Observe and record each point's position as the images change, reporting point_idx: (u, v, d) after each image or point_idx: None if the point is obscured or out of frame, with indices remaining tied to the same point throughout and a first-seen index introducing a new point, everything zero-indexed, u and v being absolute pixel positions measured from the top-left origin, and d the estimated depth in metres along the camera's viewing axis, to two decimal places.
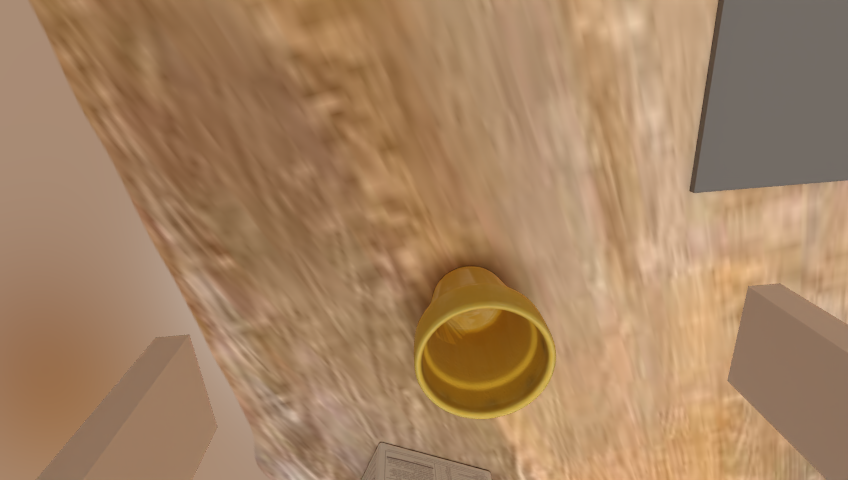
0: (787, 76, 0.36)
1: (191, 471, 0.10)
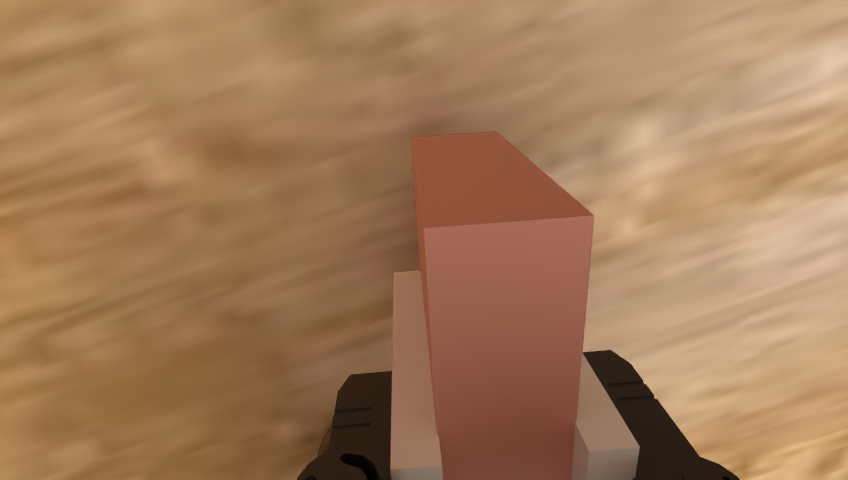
0: None
1: None
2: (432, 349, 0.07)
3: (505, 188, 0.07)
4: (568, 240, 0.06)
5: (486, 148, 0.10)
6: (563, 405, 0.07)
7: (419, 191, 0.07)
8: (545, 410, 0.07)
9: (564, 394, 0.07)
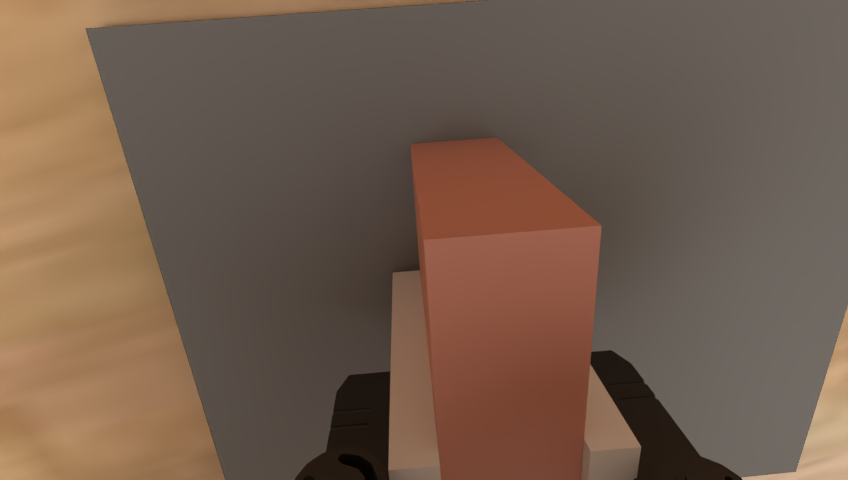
0: None
1: None
2: (433, 365, 0.06)
3: (508, 196, 0.07)
4: (574, 251, 0.06)
5: (487, 155, 0.10)
6: (570, 423, 0.07)
7: (419, 200, 0.07)
8: (551, 427, 0.07)
9: (571, 411, 0.07)
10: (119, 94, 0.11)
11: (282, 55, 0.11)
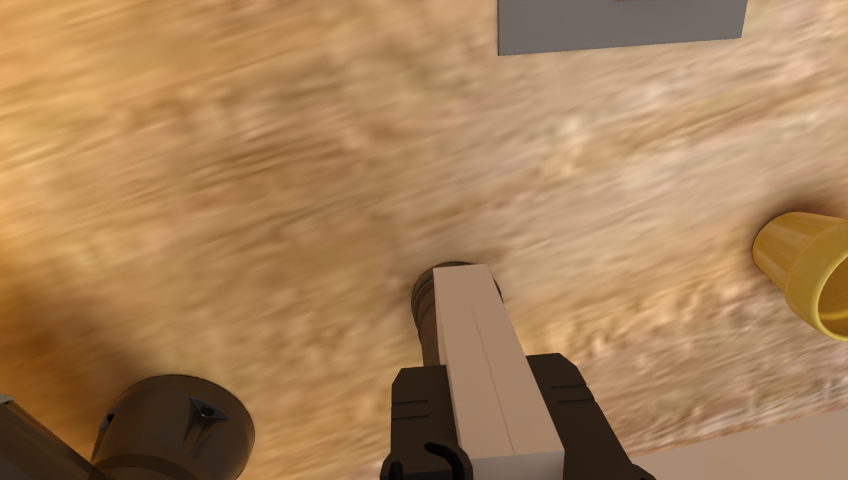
0: None
1: None
2: None
3: None
4: None
5: None
6: None
7: None
8: None
9: None
10: None
11: None
